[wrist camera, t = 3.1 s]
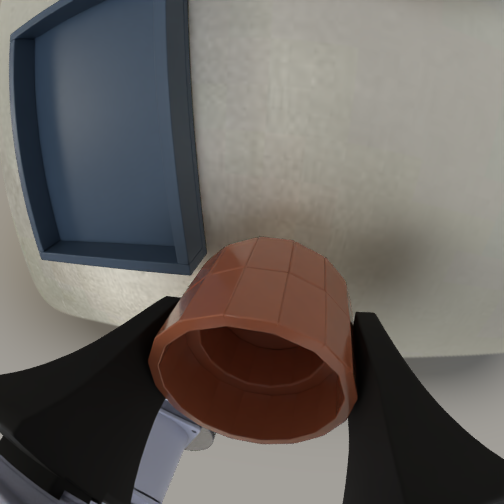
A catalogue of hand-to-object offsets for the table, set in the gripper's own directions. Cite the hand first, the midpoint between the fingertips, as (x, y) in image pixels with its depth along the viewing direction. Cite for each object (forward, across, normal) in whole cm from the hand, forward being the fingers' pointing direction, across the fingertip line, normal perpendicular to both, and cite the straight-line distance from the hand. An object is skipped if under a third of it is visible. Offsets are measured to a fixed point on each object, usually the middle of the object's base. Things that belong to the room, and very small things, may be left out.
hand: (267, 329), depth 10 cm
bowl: (+2, 0, 0) cm, 2 cm away
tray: (+6, +10, -7) cm, 13 cm away
